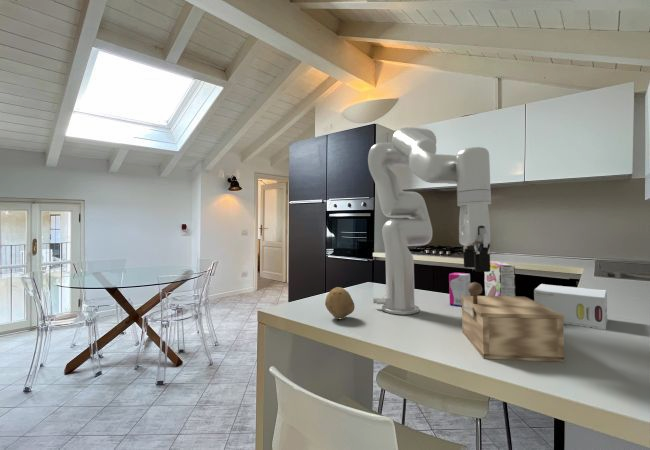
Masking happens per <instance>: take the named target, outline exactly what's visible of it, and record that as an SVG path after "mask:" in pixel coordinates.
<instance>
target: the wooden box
mask: <svg viewBox="0 0 650 450" xmlns="http://www.w3.org/2000/svg"><path fill="white" fill-rule="evenodd" d="M461 320H462V321H461V322H462V323H461V324H462V325H461V327H462V328H461V329H462V332H461V333H462V334H463V335H464V336H465V337H466V339H467V340H468V341H469V342H470V344H471V345H472V347H474V348H475V350H476V351H477V352H478V353H479V355H480V356H481V357H482V358H483V359H490V360H491V359H492V360H508V361H509V360H510V361H511V360H512V361H513V360H514V361H530V362H531V361H536V362H558V363H559V362H560V363H562V362H563V363H565V340H564V339H565V335H564V332H565V331H564V330H565V329H564V324H563V319H545V318H505V317H481V316H479V315H478V314H477V313H476V312H475V311H474V318H473V317H471V316H470V315H469V314H468V313H467V312H466V311H465V310H464V302H463V301H462V307H461Z"/></svg>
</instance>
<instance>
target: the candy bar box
mask: <svg viewBox="0 0 650 450" xmlns="http://www.w3.org/2000/svg"><path fill="white" fill-rule="evenodd" d="M515 268H516V267H515V265H513V264H509V263H505V262H501V261H496V260H495V261H491V260H490V272H483V273H484V296H516V278H515V277H516V275H515V274H516V271H515V270H516V269H515Z"/></svg>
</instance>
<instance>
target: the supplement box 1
mask: <svg viewBox="0 0 650 450" xmlns="http://www.w3.org/2000/svg"><path fill="white" fill-rule="evenodd" d="M448 283H449V288H448V289H449V293H448V294H449V306H454V307H460V308H462V300H461V299H460V296H472V294H470V293H469V291H468V286H469V284H470V283H471V274H470V273H465V272H452V273H449V274H448Z"/></svg>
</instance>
